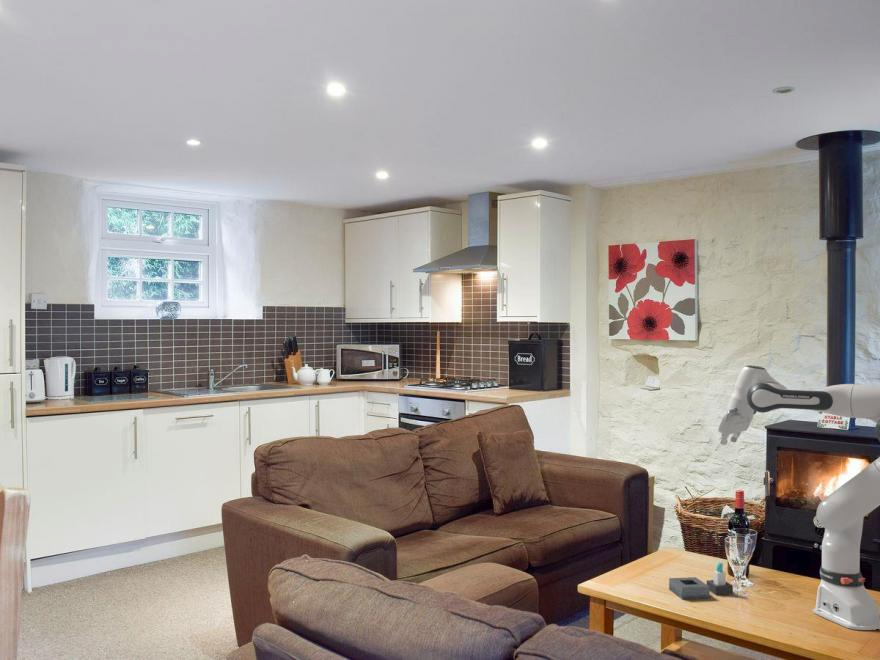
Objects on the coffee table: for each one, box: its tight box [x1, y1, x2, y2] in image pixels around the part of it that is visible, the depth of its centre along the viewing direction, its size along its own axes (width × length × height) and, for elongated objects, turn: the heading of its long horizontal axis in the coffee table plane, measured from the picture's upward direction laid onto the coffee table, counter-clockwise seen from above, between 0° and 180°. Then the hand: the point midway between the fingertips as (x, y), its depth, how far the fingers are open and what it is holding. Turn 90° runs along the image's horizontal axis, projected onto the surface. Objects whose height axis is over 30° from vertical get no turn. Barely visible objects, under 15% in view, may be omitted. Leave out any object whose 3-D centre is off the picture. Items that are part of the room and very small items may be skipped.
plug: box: [712, 561, 727, 585], centre depth 267 cm, size 3×3×10 cm
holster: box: [706, 579, 734, 596], centre depth 267 cm, size 6×6×3 cm
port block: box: [668, 576, 710, 600], centre depth 264 cm, size 10×10×4 cm
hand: (728, 443), depth 273 cm, fingers open, 8 cm apart
